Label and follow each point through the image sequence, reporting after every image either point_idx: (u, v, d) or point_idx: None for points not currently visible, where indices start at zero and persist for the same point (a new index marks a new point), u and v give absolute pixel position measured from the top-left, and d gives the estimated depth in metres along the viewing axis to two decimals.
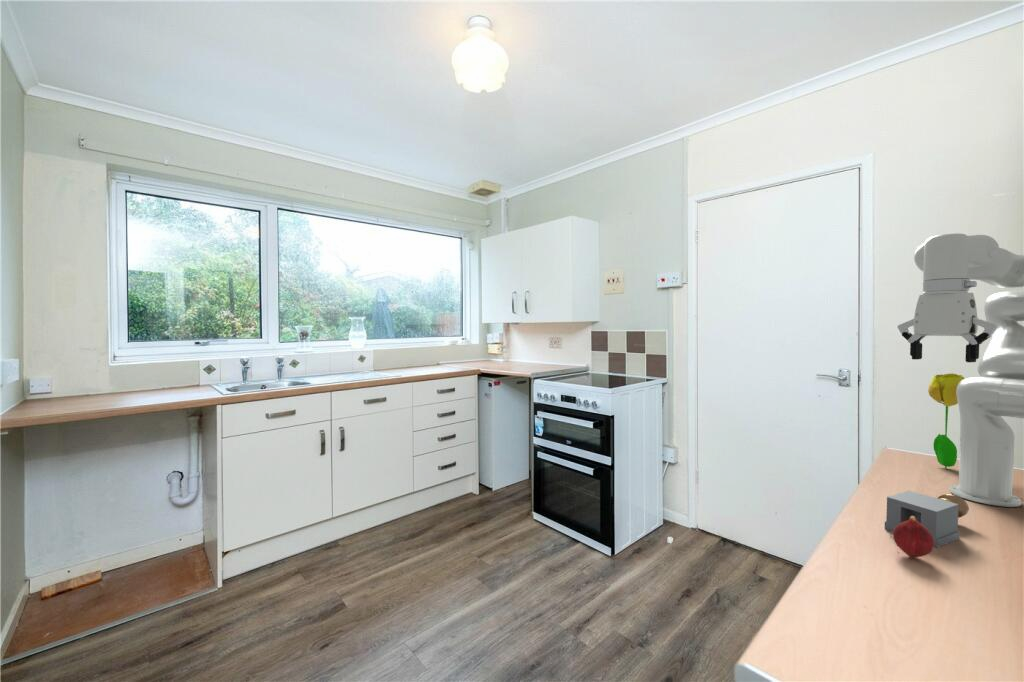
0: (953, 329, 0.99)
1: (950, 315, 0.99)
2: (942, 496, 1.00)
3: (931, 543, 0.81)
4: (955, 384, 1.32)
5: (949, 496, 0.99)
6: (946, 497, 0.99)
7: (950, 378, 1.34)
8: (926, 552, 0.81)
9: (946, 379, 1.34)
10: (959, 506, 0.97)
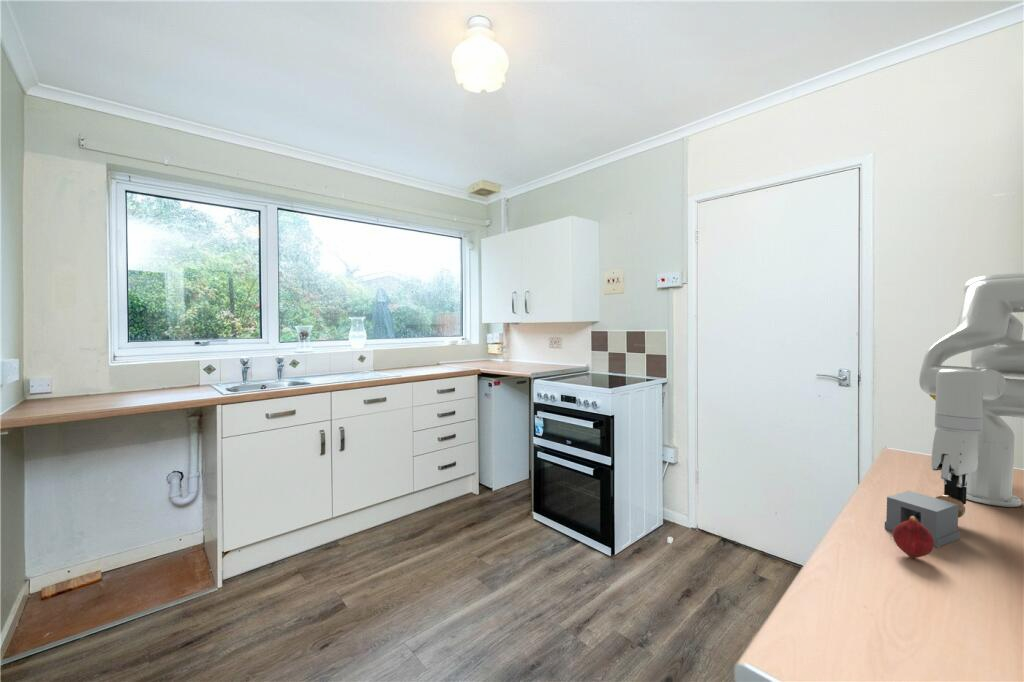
0: (974, 466, 0.98)
1: None
2: (939, 497, 0.99)
3: (931, 543, 0.81)
4: None
5: (946, 497, 0.98)
6: (943, 498, 0.98)
7: None
8: (926, 552, 0.81)
9: None
10: None
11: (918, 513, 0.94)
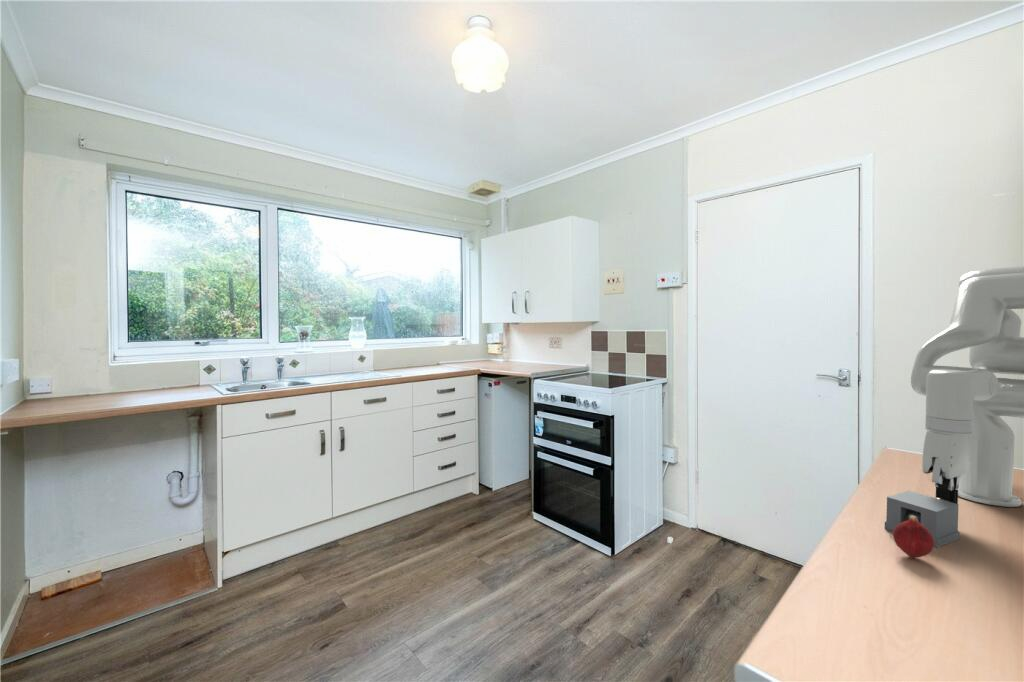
0: (966, 468, 0.96)
1: None
2: None
3: (931, 543, 0.81)
4: None
5: None
6: None
7: None
8: (926, 552, 0.81)
9: None
10: None
11: (909, 516, 0.92)
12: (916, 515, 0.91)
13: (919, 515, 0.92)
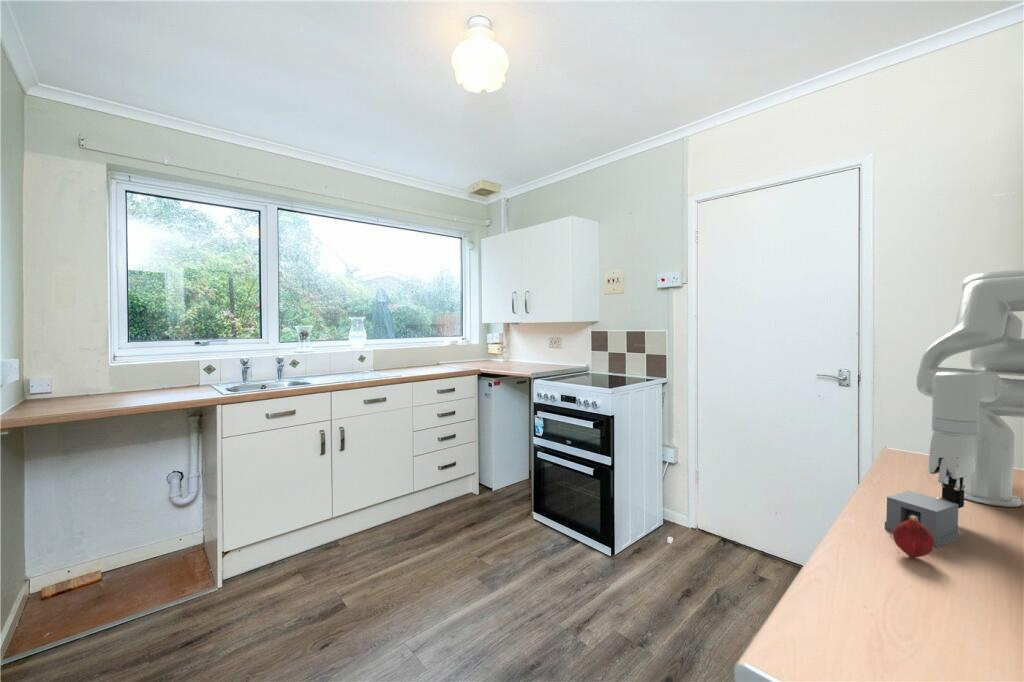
0: (972, 469, 0.98)
1: (971, 455, 0.97)
2: None
3: (931, 543, 0.81)
4: None
5: None
6: None
7: None
8: (926, 552, 0.81)
9: None
10: None
11: (909, 516, 0.92)
12: (917, 515, 0.92)
13: (920, 515, 0.92)
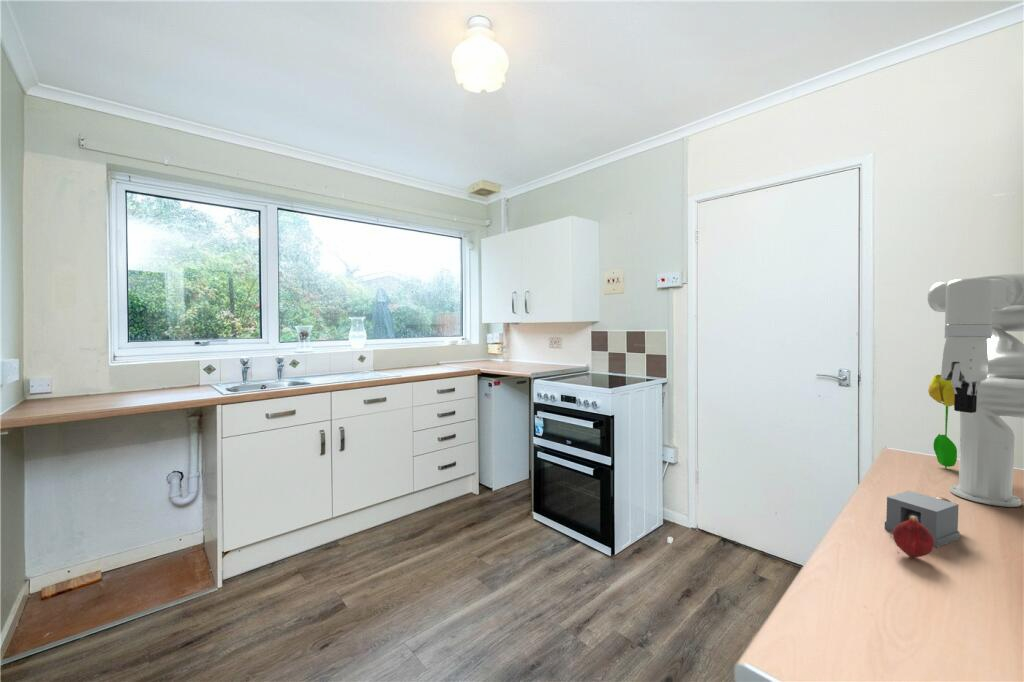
0: (984, 374, 0.99)
1: (984, 361, 0.98)
2: None
3: (931, 543, 0.81)
4: None
5: None
6: None
7: None
8: (926, 552, 0.81)
9: None
10: None
11: (909, 516, 0.92)
12: (917, 515, 0.92)
13: (920, 515, 0.92)
